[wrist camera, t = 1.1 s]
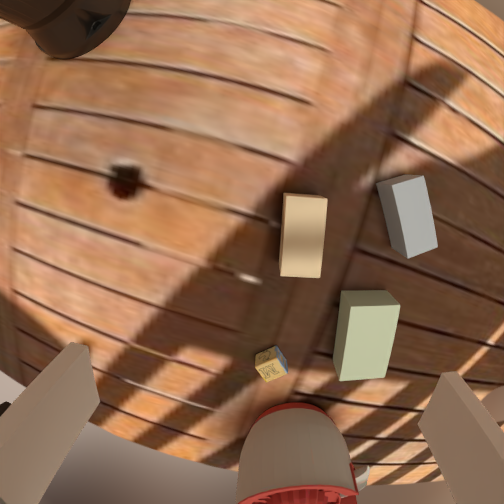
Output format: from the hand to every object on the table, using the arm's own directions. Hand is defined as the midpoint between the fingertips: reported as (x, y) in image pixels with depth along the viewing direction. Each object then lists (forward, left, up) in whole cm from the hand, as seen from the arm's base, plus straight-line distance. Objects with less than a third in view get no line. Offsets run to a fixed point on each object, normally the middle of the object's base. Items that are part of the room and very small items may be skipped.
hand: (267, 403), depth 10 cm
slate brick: (-4, +16, -27) cm, 31 cm away
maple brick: (-1, +4, -27) cm, 27 cm away
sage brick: (+11, +13, -27) cm, 32 cm away
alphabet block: (+16, +2, -27) cm, 31 cm away
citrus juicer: (+29, +7, -27) cm, 40 cm away
